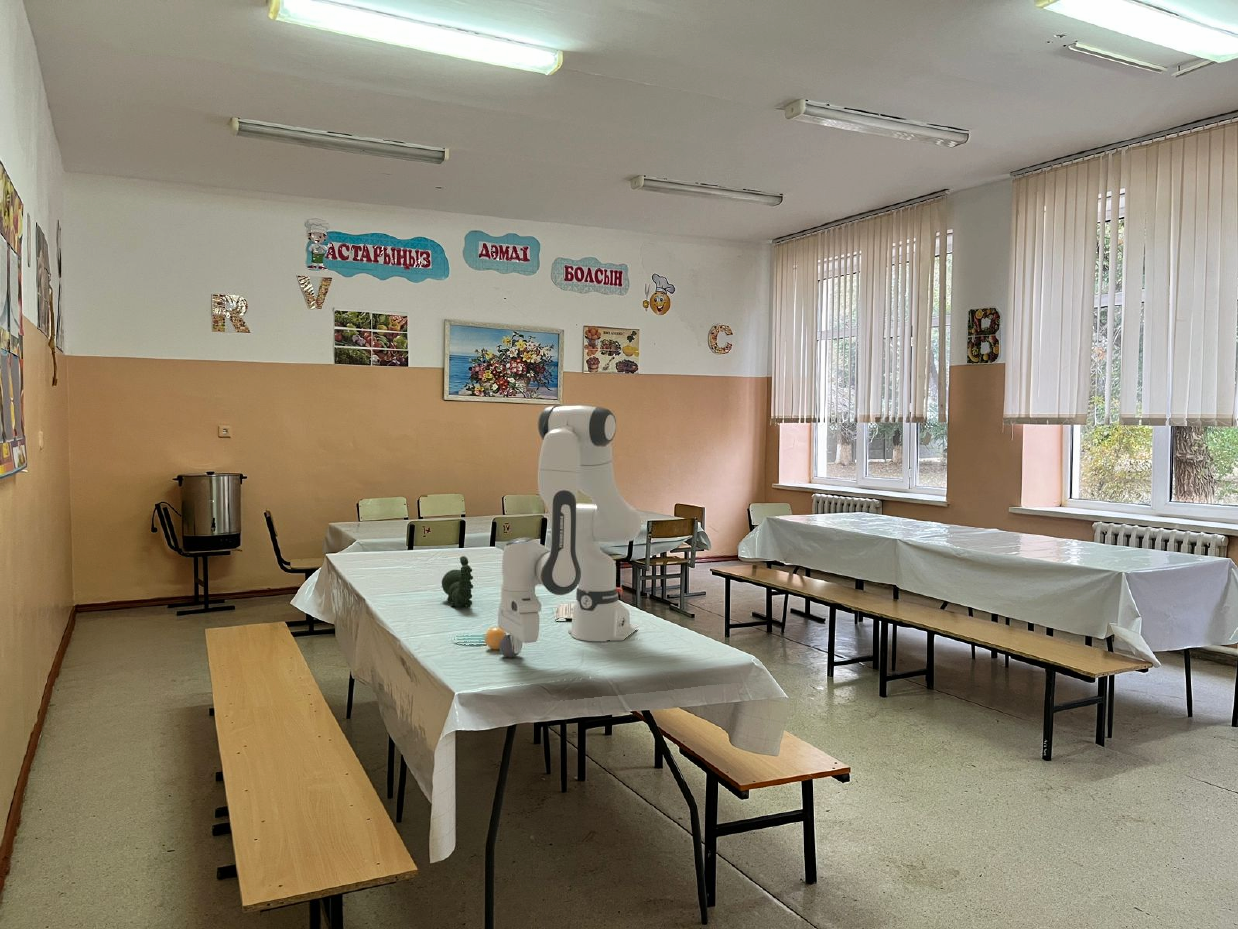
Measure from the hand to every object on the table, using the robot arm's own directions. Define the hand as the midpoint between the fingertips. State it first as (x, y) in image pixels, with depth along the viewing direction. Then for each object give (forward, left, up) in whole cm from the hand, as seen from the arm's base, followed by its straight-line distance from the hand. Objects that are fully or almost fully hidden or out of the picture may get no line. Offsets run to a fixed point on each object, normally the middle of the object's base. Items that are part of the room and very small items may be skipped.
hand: (516, 652), depth 218 cm
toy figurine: (-46, -58, -2) cm, 74 cm away
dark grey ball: (-2, -3, +1) cm, 4 cm away
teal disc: (-11, -22, -2) cm, 25 cm away
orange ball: (-6, -11, +1) cm, 13 cm away
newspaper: (-54, -18, -3) cm, 57 cm away
